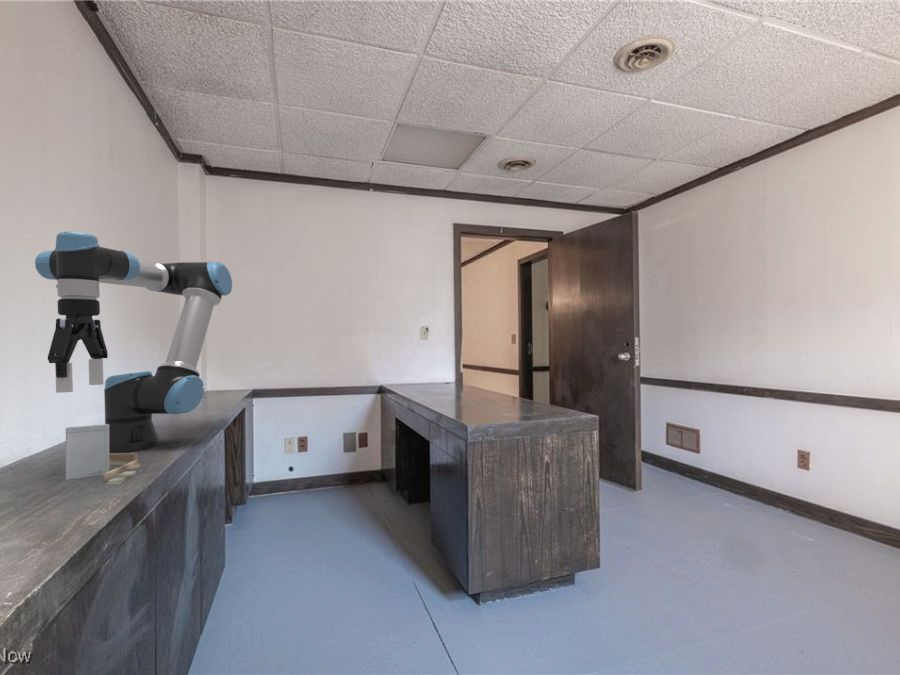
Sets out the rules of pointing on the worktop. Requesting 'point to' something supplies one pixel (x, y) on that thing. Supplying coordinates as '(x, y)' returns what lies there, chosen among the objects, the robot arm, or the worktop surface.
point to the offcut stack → (121, 477)
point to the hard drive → (87, 451)
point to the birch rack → (123, 459)
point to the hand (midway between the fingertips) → (81, 388)
